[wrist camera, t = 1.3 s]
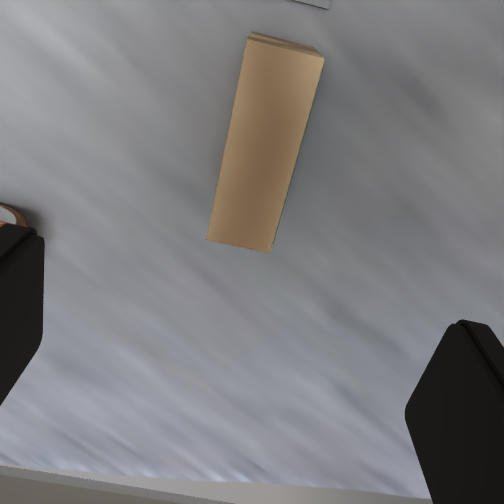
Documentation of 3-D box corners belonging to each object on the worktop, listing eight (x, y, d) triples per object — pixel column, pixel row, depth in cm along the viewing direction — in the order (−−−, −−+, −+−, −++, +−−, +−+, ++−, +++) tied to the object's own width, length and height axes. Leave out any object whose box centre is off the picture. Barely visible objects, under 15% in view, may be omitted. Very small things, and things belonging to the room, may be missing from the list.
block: (314, 47, 26) (326, 59, 20) (271, 207, 31) (271, 254, 25) (252, 31, 26) (247, 38, 20) (218, 195, 31) (206, 239, 25)
